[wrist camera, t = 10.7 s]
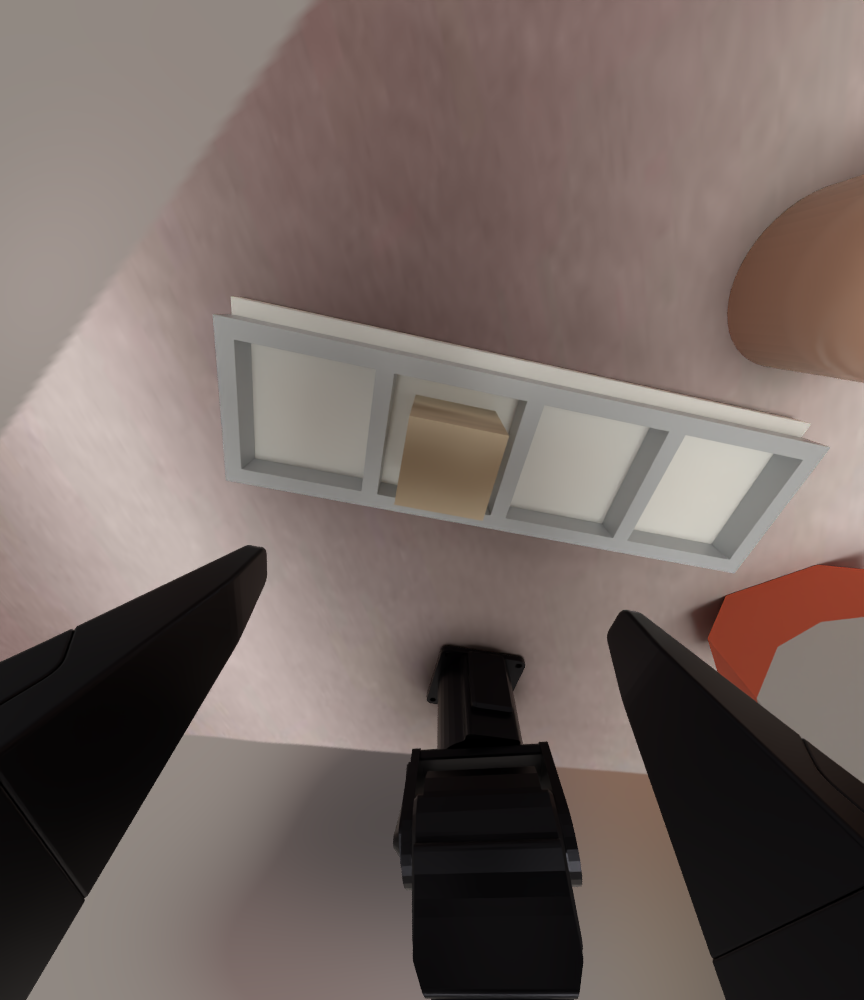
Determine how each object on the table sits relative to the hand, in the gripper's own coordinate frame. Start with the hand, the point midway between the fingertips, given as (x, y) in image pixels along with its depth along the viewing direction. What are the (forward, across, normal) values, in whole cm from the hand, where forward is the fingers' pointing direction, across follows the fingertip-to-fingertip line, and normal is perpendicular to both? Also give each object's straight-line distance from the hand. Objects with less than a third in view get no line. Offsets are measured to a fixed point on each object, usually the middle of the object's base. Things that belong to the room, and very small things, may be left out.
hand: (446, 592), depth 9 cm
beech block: (+11, 0, 0) cm, 11 cm away
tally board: (+12, -4, 0) cm, 12 cm away
